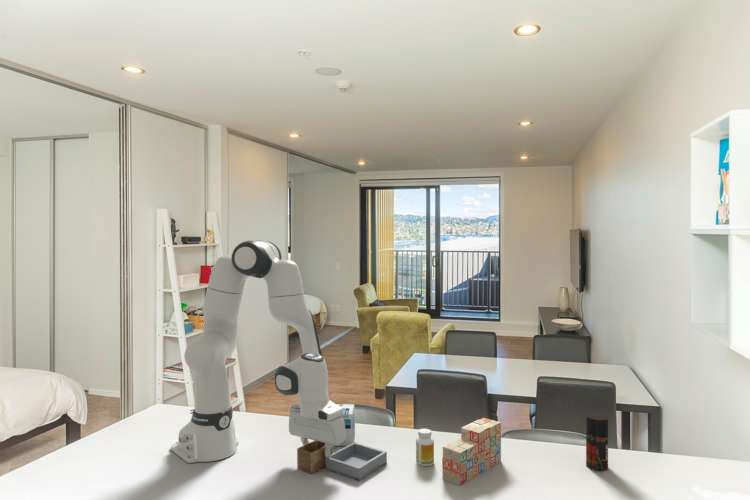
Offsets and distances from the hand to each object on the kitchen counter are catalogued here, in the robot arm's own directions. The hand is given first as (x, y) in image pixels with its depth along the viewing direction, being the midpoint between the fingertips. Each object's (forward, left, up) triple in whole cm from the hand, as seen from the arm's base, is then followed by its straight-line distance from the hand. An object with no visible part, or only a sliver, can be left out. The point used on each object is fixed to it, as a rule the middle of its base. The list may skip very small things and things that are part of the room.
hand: (317, 453), depth 148 cm
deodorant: (+69, +47, -4) cm, 83 cm away
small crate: (0, -1, -3) cm, 3 cm away
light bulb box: (-5, +19, -4) cm, 20 cm away
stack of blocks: (+40, +24, -4) cm, 47 cm away
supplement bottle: (+26, +20, -4) cm, 33 cm away
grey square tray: (+10, +6, -3) cm, 12 cm away
